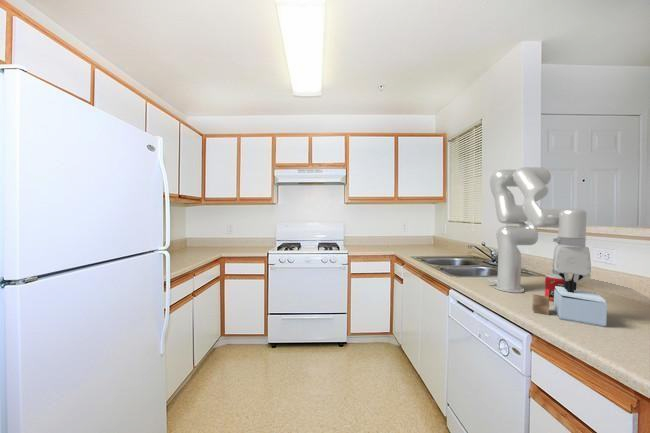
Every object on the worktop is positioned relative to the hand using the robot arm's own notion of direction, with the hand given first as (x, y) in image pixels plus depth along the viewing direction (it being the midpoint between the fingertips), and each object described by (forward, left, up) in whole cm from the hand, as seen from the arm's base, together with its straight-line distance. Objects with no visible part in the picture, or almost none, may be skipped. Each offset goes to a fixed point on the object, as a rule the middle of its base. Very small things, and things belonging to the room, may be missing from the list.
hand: (570, 291), depth 101 cm
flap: (+2, 0, -1) cm, 3 cm away
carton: (+2, 0, -9) cm, 10 cm away
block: (-9, -1, -9) cm, 13 cm away
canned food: (-1, +21, -10) cm, 23 cm away
